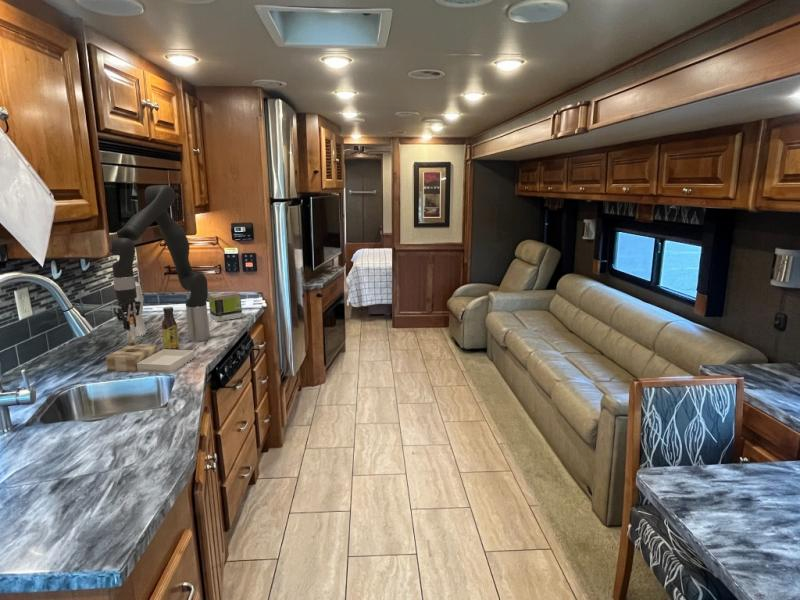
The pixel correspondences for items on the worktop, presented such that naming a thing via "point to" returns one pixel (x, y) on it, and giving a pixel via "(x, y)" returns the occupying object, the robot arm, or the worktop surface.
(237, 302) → the tea box
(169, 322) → the sauce bottle
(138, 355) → the block
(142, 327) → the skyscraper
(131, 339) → the copper and grey cylinder
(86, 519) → the worktop surface
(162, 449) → the worktop surface
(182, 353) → the tray
